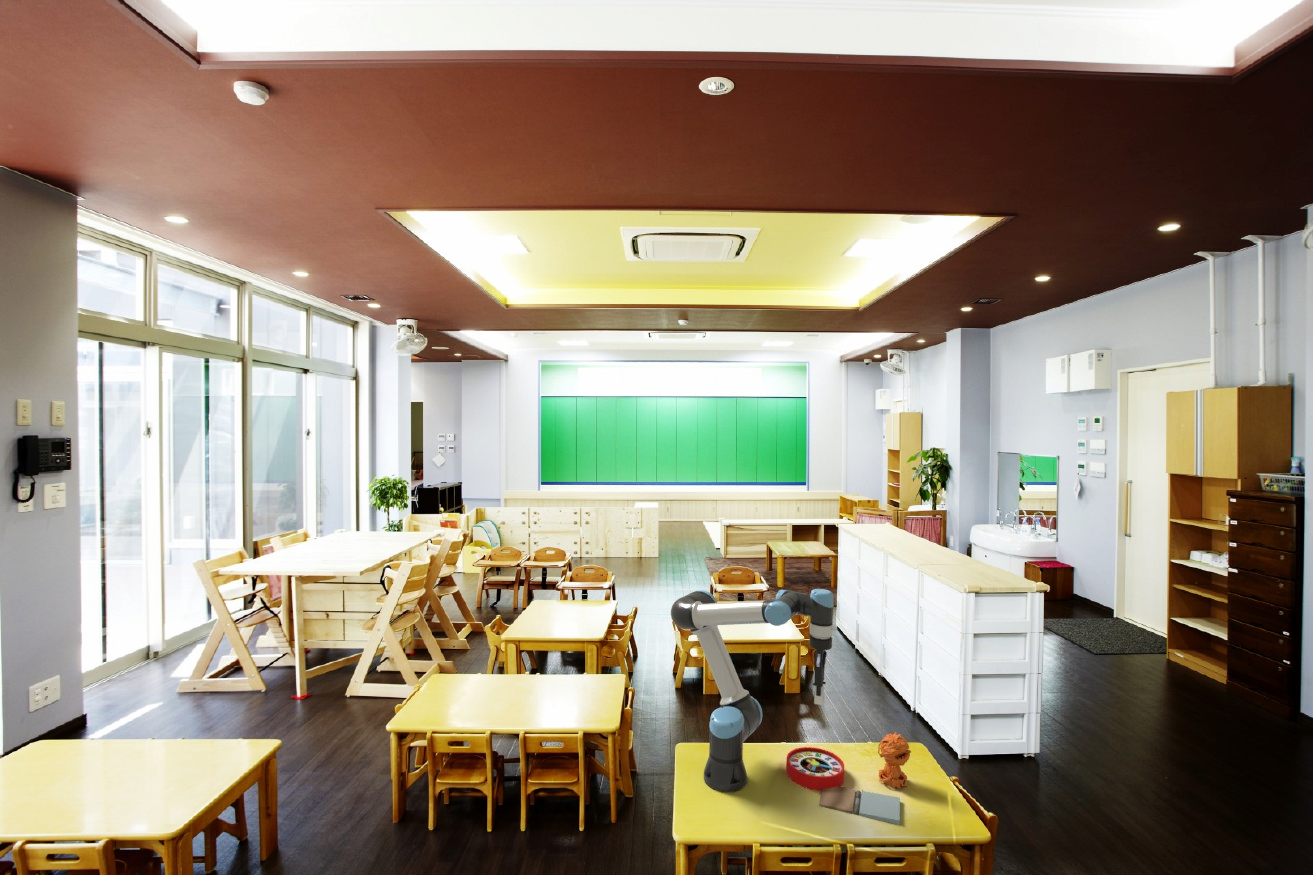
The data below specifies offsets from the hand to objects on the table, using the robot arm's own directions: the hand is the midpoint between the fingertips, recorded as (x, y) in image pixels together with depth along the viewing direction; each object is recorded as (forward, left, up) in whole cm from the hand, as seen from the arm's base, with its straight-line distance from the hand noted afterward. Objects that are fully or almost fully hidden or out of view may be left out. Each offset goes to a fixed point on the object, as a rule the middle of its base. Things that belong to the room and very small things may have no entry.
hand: (818, 703), depth 214 cm
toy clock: (-1, +7, -30) cm, 31 cm away
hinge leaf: (+20, -5, -29) cm, 36 cm away
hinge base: (+8, -5, -29) cm, 31 cm away
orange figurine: (+25, +13, -30) cm, 41 cm away
